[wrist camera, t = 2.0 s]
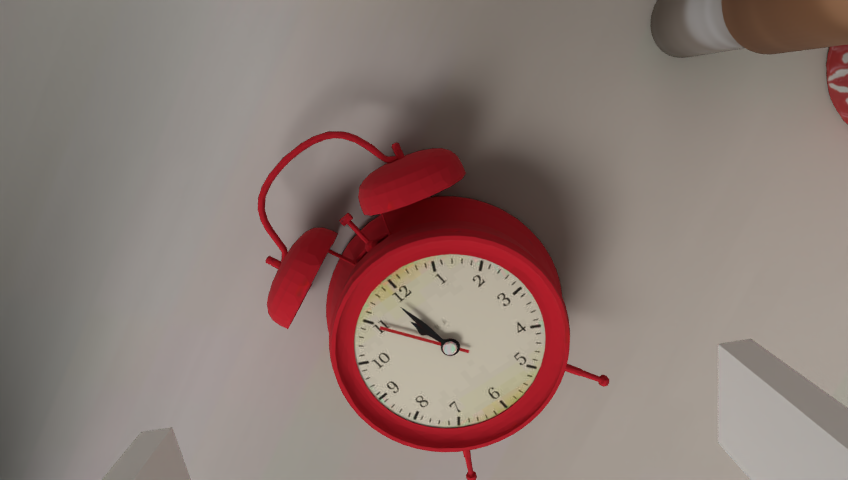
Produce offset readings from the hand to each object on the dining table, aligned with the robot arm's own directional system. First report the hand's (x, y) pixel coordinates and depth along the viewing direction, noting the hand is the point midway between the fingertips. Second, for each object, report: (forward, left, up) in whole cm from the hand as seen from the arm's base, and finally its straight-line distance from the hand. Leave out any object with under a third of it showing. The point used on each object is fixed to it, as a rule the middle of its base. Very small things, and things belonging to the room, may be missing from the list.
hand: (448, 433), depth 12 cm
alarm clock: (0, 0, -11) cm, 11 cm away
